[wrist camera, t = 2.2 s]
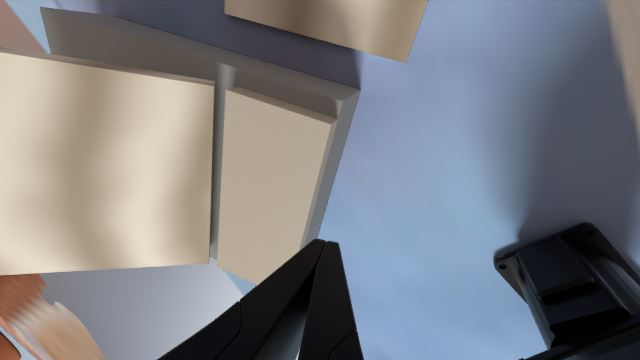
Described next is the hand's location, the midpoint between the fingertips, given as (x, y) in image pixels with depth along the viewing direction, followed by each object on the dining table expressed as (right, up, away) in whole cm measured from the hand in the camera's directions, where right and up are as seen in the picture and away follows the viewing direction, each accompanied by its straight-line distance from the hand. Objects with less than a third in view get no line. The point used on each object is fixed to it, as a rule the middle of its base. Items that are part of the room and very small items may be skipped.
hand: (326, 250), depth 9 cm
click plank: (-14, +3, +8) cm, 16 cm away
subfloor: (-9, +6, +15) cm, 19 cm away
